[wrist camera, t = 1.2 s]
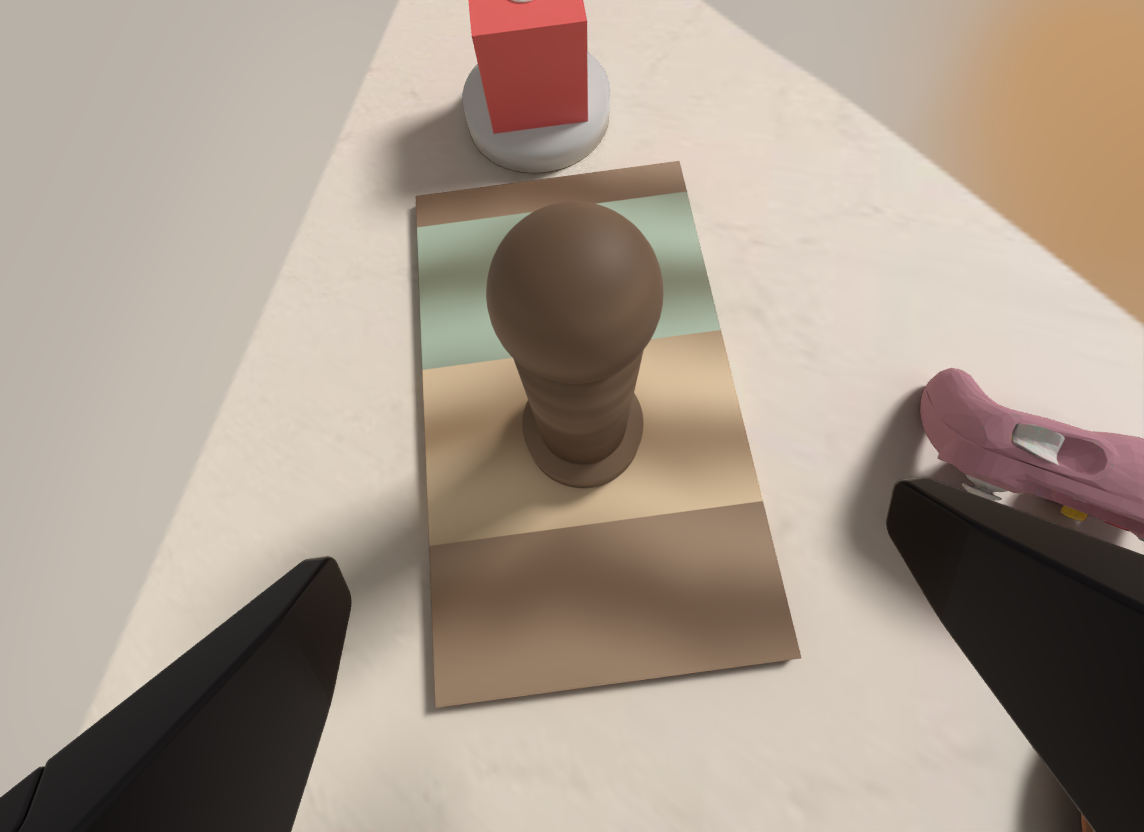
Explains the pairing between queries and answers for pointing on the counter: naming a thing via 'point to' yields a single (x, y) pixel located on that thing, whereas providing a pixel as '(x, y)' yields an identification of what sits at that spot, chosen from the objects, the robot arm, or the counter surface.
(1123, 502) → the video game controller
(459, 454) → the game track
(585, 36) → the die stand
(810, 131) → the counter surface
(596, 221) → the pawn
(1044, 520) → the robot arm
